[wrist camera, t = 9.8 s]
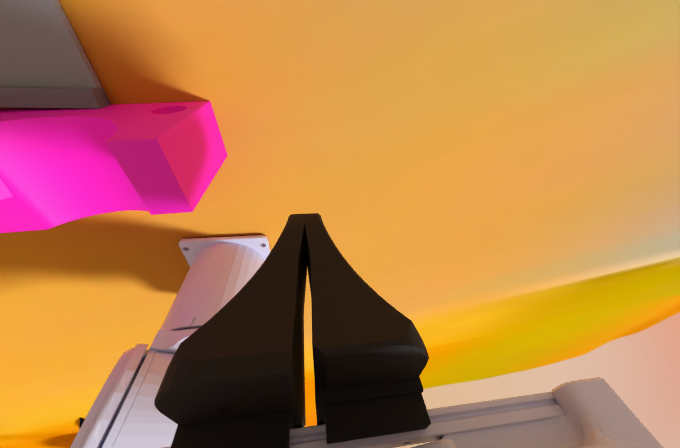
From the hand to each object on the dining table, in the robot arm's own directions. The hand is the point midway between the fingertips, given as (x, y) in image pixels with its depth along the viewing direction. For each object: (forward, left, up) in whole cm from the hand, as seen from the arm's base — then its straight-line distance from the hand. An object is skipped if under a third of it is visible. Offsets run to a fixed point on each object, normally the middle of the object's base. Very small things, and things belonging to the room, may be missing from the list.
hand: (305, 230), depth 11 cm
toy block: (0, +13, -10) cm, 17 cm away
